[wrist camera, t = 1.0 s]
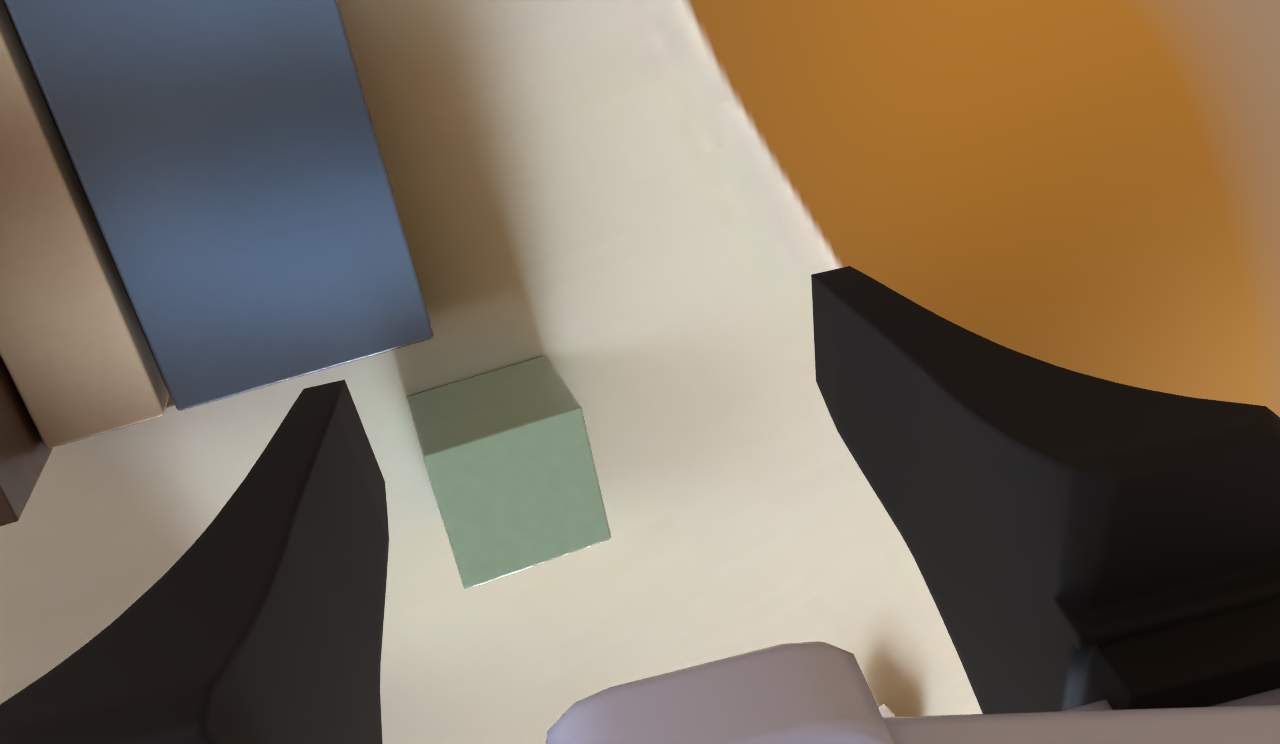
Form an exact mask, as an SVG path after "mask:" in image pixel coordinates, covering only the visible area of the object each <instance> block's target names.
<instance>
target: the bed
mask: <svg viewBox="0 0 1280 744" xmlns="http://www.w3.org/2000/svg"><path fill="white" fill-rule="evenodd" d="M433 336H434V334H433V330H432V327H431V324H430V320H429V317H428V313H427V310H426V306H425V303H424V299H423V296H422V293H421V289H420V286H419V282H418V279H417V275H416V272H415V269H414V265H413V262H412V258H411V255H410V251H409V248H408V245H407V241H406V238H405V234H404V231H403V227H402V224H401V221H400V217H399V214H398V210H397V207H396V203H395V200H394V196H393V193H392V190H391V186H390V183H389V179H388V176H387V172H386V169H385V166H384V162H383V159H382V155H381V152H380V148H379V145H378V142H377V138H376V135H375V131H374V128H373V124H372V121H371V117H370V114H369V111H368V107H367V104H366V100H365V97H364V93H363V90H362V87H361V83H360V80H359V76H358V73H357V69H356V66H355V63H354V59H353V56H352V52H351V49H350V45H349V42H348V38H347V35H346V32H345V28H344V25H343V21H342V18H341V14H340V11H339V8H338V4H337V1H336V0H0V526H3V525H6V524H10V523H13V522H16V521H18V520H19V518H20V516H21V514H22V512H23V509H24V507H25V505H26V503H27V501H28V499H29V497H30V495H31V493H32V491H33V489H34V487H35V484H36V482H37V480H38V478H39V476H40V474H41V472H42V470H43V468H44V466H45V464H46V462H47V459H48V457H49V455H50V453H51V451H52V449H53V447H56V446H60V445H63V444H67V443H70V442H74V441H77V440H81V439H84V438H88V437H91V436H95V435H98V434H102V433H105V432H109V431H112V430H116V429H119V428H122V427H126V426H129V425H133V424H136V423H140V422H143V421H147V420H150V419H154V418H157V417H161V416H163V415H164V412H165V408H167V407H170V406H174V405H175V406H176V408H177V409H178V410H179V411H181V410H185V409H189V408H192V407H195V406H199V405H202V404H206V403H209V402H213V401H216V400H220V399H223V398H227V397H230V396H234V395H237V394H241V393H244V392H248V391H251V390H254V389H258V388H261V387H265V386H268V385H272V384H275V383H279V382H282V381H286V380H289V379H293V378H296V377H300V376H303V375H307V374H310V373H314V372H317V371H320V370H324V369H327V368H331V367H334V366H338V365H341V364H345V363H348V362H352V361H355V360H359V359H362V358H366V357H369V356H373V355H376V354H380V353H383V352H386V351H390V350H393V349H397V348H400V347H404V346H407V345H411V344H414V343H418V342H421V341H425V340H428V339H431V338H433Z"/></svg>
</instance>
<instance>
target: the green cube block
mask: <svg viewBox="0 0 1280 744" xmlns="http://www.w3.org/2000/svg"><path fill="white" fill-rule="evenodd" d="M406 401H407V404H408V408H409V411H410V414H411V418H412V421H413V425H414V428H415V431H416V435H417V438H418V442H419V445H420V449H421V452H422V455H423V459H424V462H425V465H426V468H427V472H428V475H429V478H430V481H431V484H432V487H433V491H434V494H435V497H436V500H437V503H438V507H439V510H440V513H441V516H442V519H443V523H444V526H445V529H446V532H447V535H448V538H449V542H450V545H451V548H452V551H453V554H454V558H455V561H456V564H457V567H458V570H459V574H460V577H461V580H462V583H463V586H464V589H469V588H471V587H474V586H477V585H480V584H483V583H486V582H489V581H492V580H495V579H497V578H500V577H503V576H506V575H509V574H512V573H515V572H518V571H521V570H523V569H526V568H529V567H532V566H535V565H538V564H541V563H544V562H547V561H550V560H552V559H555V558H558V557H561V556H564V555H567V554H570V553H573V552H576V551H578V550H581V549H584V548H587V547H590V546H593V545H596V544H599V543H602V542H604V541H607V540H610V539H611V534H610V529H609V525H608V521H607V517H606V512H605V508H604V504H603V499H602V495H601V491H600V486H599V482H598V478H597V473H596V469H595V465H594V460H593V456H592V452H591V447H590V443H589V439H588V435H587V430H586V426H585V422H584V417H583V413H582V409H581V406H580V405H579V403H578V402H577V401H576V399H575V398H574V396H573V395H572V393H571V392H570V390H569V389H568V387H567V386H566V385H565V383H564V382H563V380H562V379H561V377H560V376H559V374H558V373H557V372H556V370H555V369H554V367H553V366H552V364H551V363H550V361H549V360H548V358H547V357H546V356H542V357H538V358H535V359H532V360H528V361H525V362H522V363H518V364H515V365H512V366H508V367H505V368H502V369H498V370H495V371H492V372H488V373H485V374H482V375H478V376H475V377H472V378H468V379H465V380H461V381H458V382H455V383H451V384H448V385H445V386H441V387H438V388H435V389H431V390H428V391H425V392H421V393H418V394H415V395H411V396H408V397H406Z"/></svg>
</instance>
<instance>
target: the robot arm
mask: <svg viewBox="0 0 1280 744" xmlns="http://www.w3.org/2000/svg"><path fill="white" fill-rule="evenodd" d="M811 277H812V299H813V322H814V344H815V366H816V382H817V384H818V386H819V389H820V391H821V394H822V396H823V398H824V401H825V403H826V406H827V408H828V410H829V413H830V415H831V417H832V419H833V421H834V424H835V426H836V428H837V430H838V432H839V434H840V436H841V438H842V439H843V441H844V443H845V444H846V446H847V448H848V449H849V451H850V452H851V454H852V456H853V457H854V459H855V461H856V462H857V464H858V466H859V467H860V469H861V471H862V472H863V474H864V475H865V477H866V479H867V480H868V482H869V483H870V485H871V487H872V488H873V490H874V491H875V493H876V495H877V496H878V498H879V500H880V501H881V503H882V504H883V506H884V508H885V509H886V511H887V512H888V514H889V516H890V517H891V519H892V521H893V522H894V524H895V525H896V527H897V529H898V530H899V532H900V533H901V535H902V537H903V539H904V541H905V542H906V544H907V546H908V548H909V550H910V551H911V553H912V555H913V557H914V559H915V561H916V563H917V565H918V567H919V569H920V572H921V574H922V576H923V578H924V580H925V582H926V584H927V586H928V589H929V591H930V593H931V595H932V597H933V599H934V601H935V604H936V606H937V608H938V610H939V612H940V615H941V617H942V619H943V621H944V624H945V626H946V628H947V630H948V633H949V635H950V637H951V639H952V642H953V644H954V646H955V648H956V651H957V653H958V655H959V658H960V660H961V662H962V665H963V667H964V669H965V672H966V674H967V677H968V679H969V681H970V684H971V686H972V689H973V691H974V693H975V696H976V698H977V701H978V703H979V705H980V708H981V710H982V713H983V714H972V715H941V716H910V717H882V715H881V713H880V710H879V708H878V706H877V704H876V702H875V700H874V697H873V695H872V693H871V691H870V689H869V686H868V684H867V682H866V680H865V678H864V675H863V673H862V671H861V669H860V667H859V665H858V663H857V661H856V659H855V657H854V654H852V653H850V652H847V651H845V650H842V649H840V648H837V647H835V646H832V645H830V644H827V643H825V642H818V641H817V642H804V643H790V644H781V645H777V646H773V647H769V648H765V649H761V650H757V651H753V652H749V653H745V654H741V655H737V656H733V657H729V658H725V659H721V660H717V661H713V662H709V663H705V664H701V665H697V666H693V667H689V668H685V669H681V670H677V671H673V672H669V673H665V674H661V675H658V676H654V677H650V678H646V679H642V680H638V681H634V682H630V683H626V684H622V685H618V686H614V687H610V688H608V689H605V690H603V691H601V692H598V693H596V694H594V695H592V696H589V697H587V698H585V699H582V700H580V701H578V702H576V703H574V704H573V705H572V706H571V707H570V708H569V709H568V710H567V711H566V712H565V713H564V714H563V715H562V716H561V718H560V719H559V720H558V721H557V722H556V723H555V724H554V725H553V726H552V727H551V728H550V729H549V730H548V731H547V740H546V744H1280V417H1278V416H1277V415H1276V414H1275V413H1274V412H1272V411H1271V410H1270V409H1268V408H1267V407H1266V406H1259V405H1250V404H1242V403H1233V402H1225V401H1216V400H1207V399H1198V398H1191V397H1184V396H1179V395H1174V394H1168V393H1163V392H1158V391H1152V390H1147V389H1142V388H1137V387H1133V386H1128V385H1124V384H1119V383H1115V382H1111V381H1108V380H1104V379H1100V378H1096V377H1092V376H1089V375H1085V374H1081V373H1078V372H1074V371H1071V370H1068V369H1065V368H1061V367H1058V366H1055V365H1052V364H1049V363H1047V362H1044V361H1041V360H1038V359H1036V358H1033V357H1030V356H1027V355H1024V354H1022V353H1019V352H1016V351H1014V350H1011V349H1009V348H1006V347H1004V346H1001V345H999V344H997V343H995V342H992V341H990V340H988V339H986V338H983V337H981V336H979V335H977V334H975V333H973V332H970V331H968V330H966V329H964V328H962V327H960V326H958V325H956V324H954V323H952V322H950V321H948V320H946V319H944V318H942V317H940V316H938V315H936V314H934V313H933V312H931V311H929V310H927V309H925V308H923V307H921V306H920V305H918V304H916V303H914V302H912V301H911V300H909V299H907V298H906V297H904V296H902V295H900V294H898V293H897V292H895V291H893V290H892V289H890V288H888V287H886V286H885V285H883V284H881V283H879V282H878V281H876V280H874V279H872V278H871V277H869V276H867V275H865V274H863V273H862V272H860V271H858V270H856V269H854V268H852V267H850V266H848V267H844V268H839V269H835V270H831V271H826V272H822V273H817V274H813V275H811ZM388 545H389V532H388V516H387V503H386V491H385V481H384V478H383V476H382V473H381V471H380V468H379V466H378V463H377V461H376V458H375V455H374V453H373V450H372V448H371V445H370V443H369V440H368V438H367V435H366V433H365V430H364V428H363V425H362V422H361V420H360V417H359V415H358V412H357V410H356V407H355V405H354V402H353V400H352V397H351V395H350V392H349V389H348V387H347V384H346V382H345V380H341V381H337V382H332V383H328V384H323V385H319V386H314V387H310V388H305V389H303V391H302V392H301V394H300V395H299V397H298V398H297V400H296V401H295V403H294V404H293V406H292V407H291V409H290V411H289V412H288V414H287V415H286V417H285V418H284V420H283V422H282V423H281V425H280V426H279V428H278V429H277V431H276V433H275V434H274V436H273V437H272V439H271V440H270V442H269V443H268V445H267V447H266V448H265V450H264V451H263V453H262V454H261V456H260V457H259V459H258V460H257V462H256V463H255V464H254V466H253V467H252V469H251V470H250V472H249V473H248V475H247V476H246V478H245V479H244V481H243V482H242V483H241V485H240V486H239V487H238V489H237V490H236V491H235V493H234V494H233V495H232V497H231V498H230V499H229V501H228V502H227V503H226V504H225V506H224V507H223V508H222V510H221V511H220V512H219V514H218V515H217V516H216V518H215V519H214V520H213V522H212V523H211V524H210V525H209V526H208V528H207V529H206V530H205V531H204V532H203V533H202V535H201V536H200V537H199V538H198V539H197V540H196V542H195V543H194V544H193V545H192V546H191V547H190V548H189V549H188V550H187V551H186V552H185V554H184V555H183V556H182V557H181V558H180V559H179V560H178V561H177V562H176V563H175V564H174V565H173V566H172V567H171V568H170V570H169V571H168V572H167V573H166V574H165V575H164V576H163V577H162V578H160V579H159V580H158V581H157V582H156V583H155V584H154V585H153V586H152V587H151V588H150V589H149V590H148V591H146V592H145V593H144V594H143V595H142V596H141V597H140V598H139V599H138V600H137V601H136V602H135V603H133V604H132V605H131V606H130V607H129V608H128V609H127V610H126V611H125V612H124V613H123V614H122V615H120V616H119V617H118V618H117V619H116V620H115V621H114V622H112V623H111V624H110V625H109V626H108V627H106V628H105V629H104V630H103V631H101V632H100V633H99V634H98V635H97V636H95V637H94V638H93V639H92V640H90V641H89V642H88V643H87V644H85V645H84V646H83V647H81V648H80V649H79V650H77V651H76V652H75V653H74V654H72V655H71V656H70V657H68V658H67V659H66V660H64V661H63V662H62V663H60V664H59V665H58V666H56V667H55V668H54V669H52V670H51V671H49V672H48V673H47V674H45V675H44V676H42V677H41V678H39V679H38V680H36V681H35V682H33V683H32V684H30V685H29V686H27V687H26V688H24V689H23V690H21V691H20V692H18V693H17V694H16V695H14V696H13V697H11V698H10V699H8V700H7V701H5V702H4V703H2V704H1V705H0V744H382V726H381V704H380V662H381V648H382V634H383V620H384V606H385V592H386V578H387V562H388Z"/></svg>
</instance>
